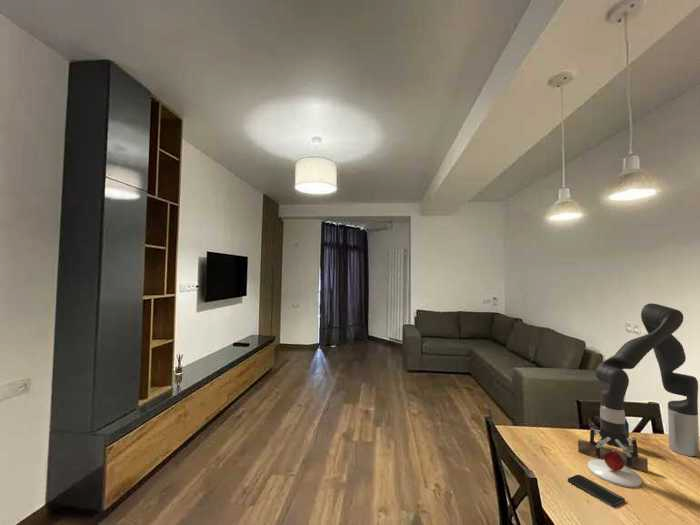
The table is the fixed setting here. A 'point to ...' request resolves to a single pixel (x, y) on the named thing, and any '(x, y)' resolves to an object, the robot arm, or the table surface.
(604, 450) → the wooden plank
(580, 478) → the phone
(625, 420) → the soda can
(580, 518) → the table surface
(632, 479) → the plate
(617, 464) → the onion
